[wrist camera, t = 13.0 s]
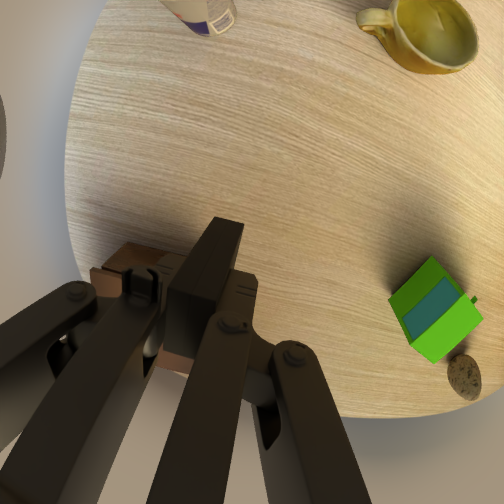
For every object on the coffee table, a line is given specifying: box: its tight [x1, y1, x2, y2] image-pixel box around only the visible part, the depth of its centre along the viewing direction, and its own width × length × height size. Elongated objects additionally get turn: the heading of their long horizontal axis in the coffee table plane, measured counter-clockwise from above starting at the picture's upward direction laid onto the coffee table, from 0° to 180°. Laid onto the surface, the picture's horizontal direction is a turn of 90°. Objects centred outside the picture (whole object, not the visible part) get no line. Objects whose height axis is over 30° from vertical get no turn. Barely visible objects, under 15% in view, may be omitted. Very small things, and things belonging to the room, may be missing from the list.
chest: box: [101, 242, 187, 275], centre depth 35 cm, size 13×13×7 cm
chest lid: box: [90, 267, 194, 374], centre depth 32 cm, size 13×13×1 cm
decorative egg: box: [447, 354, 481, 401], centre depth 36 cm, size 6×6×10 cm
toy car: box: [388, 256, 483, 364], centre depth 31 cm, size 10×13×10 cm
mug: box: [356, 0, 479, 74], centre depth 18 cm, size 12×10×10 cm
